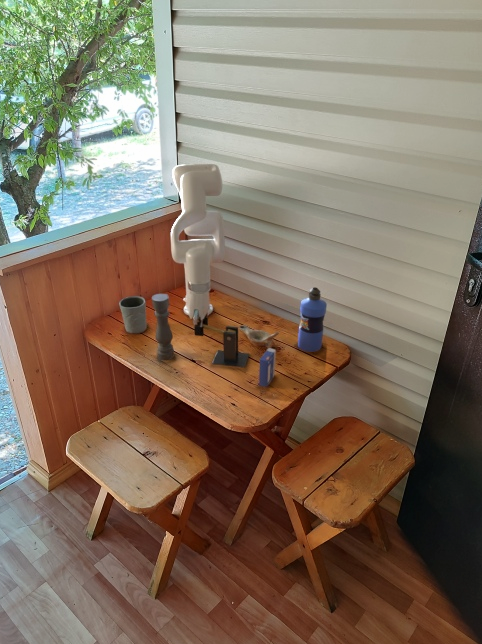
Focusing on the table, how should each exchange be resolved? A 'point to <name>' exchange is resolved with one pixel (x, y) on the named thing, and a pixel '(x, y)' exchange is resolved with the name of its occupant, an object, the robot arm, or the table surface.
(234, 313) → the table surface
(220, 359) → the switch base
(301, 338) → the water bottle
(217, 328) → the switch lever
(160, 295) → the candle holder
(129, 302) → the grey green planter pot
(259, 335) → the oil lamp
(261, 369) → the walkman
